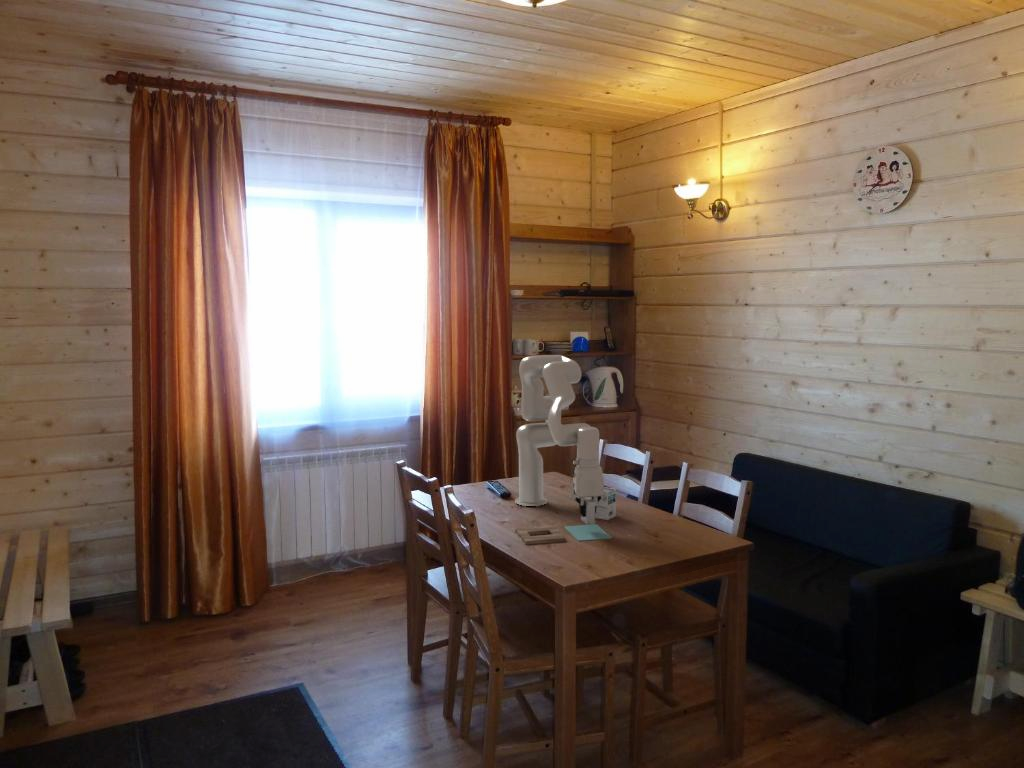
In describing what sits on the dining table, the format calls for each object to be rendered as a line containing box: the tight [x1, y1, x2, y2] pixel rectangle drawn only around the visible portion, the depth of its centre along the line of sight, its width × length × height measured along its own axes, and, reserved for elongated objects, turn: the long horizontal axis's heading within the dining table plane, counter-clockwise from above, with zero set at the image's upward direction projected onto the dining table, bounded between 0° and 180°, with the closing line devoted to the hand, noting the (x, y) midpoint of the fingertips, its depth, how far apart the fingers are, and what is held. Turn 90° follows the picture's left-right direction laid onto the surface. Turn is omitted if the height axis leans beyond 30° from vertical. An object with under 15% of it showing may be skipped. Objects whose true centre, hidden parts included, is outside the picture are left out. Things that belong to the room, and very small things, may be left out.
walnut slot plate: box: [514, 525, 567, 545], centre depth 260 cm, size 14×14×1 cm
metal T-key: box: [580, 497, 597, 525], centre depth 263 cm, size 3×9×8 cm, turn 14°
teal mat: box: [563, 523, 613, 542], centre depth 264 cm, size 16×12×1 cm
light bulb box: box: [591, 486, 617, 521], centre depth 283 cm, size 11×7×11 cm, turn 56°
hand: (587, 515), depth 263 cm, fingers closed on metal T-key, 3 cm apart
